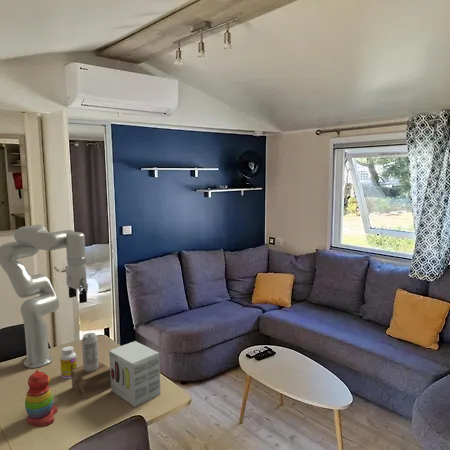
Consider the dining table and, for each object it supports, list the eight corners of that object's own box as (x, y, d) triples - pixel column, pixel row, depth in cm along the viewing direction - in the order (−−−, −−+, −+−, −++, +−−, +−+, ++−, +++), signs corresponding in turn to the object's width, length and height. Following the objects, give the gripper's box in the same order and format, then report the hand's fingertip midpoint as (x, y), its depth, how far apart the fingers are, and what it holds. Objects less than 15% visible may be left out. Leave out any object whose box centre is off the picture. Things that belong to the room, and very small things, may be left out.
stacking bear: (53, 424, 148) (49, 378, 145) (22, 428, 145) (18, 381, 143) (58, 408, 158) (55, 364, 156) (30, 411, 156) (26, 367, 154)
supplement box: (110, 391, 169) (107, 350, 167) (136, 379, 179) (135, 340, 176) (134, 407, 158) (132, 363, 155) (161, 393, 167) (160, 351, 165)
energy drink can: (97, 364, 176) (96, 331, 174) (99, 371, 170) (97, 336, 168) (83, 367, 173) (81, 333, 172) (84, 374, 168) (82, 339, 166)
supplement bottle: (71, 380, 179) (70, 352, 177) (58, 378, 180) (56, 351, 179) (80, 372, 186) (78, 345, 184) (67, 371, 187) (65, 344, 185)
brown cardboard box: (72, 387, 173) (71, 370, 171) (98, 377, 181) (97, 360, 180) (86, 398, 164) (85, 379, 163) (112, 387, 173) (111, 369, 172)
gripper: (58, 259, 178) (60, 297, 181) (77, 266, 166) (78, 306, 169) (75, 256, 184) (76, 293, 186) (94, 263, 172) (95, 302, 174)
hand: (77, 299), depth 178 cm, fingers open, 9 cm apart
